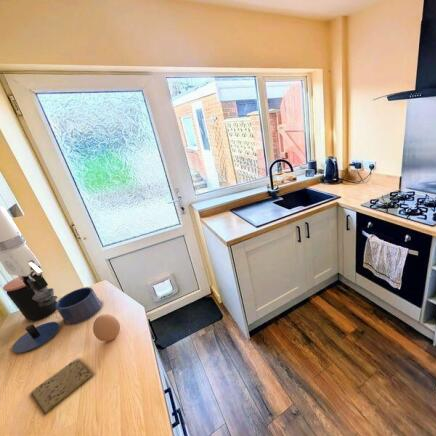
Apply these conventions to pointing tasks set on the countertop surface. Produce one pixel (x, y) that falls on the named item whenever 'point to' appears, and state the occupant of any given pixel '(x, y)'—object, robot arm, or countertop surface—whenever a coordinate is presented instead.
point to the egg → (106, 327)
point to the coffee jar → (27, 300)
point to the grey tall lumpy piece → (43, 295)
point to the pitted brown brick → (60, 385)
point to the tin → (78, 305)
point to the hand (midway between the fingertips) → (38, 286)
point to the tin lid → (35, 337)
